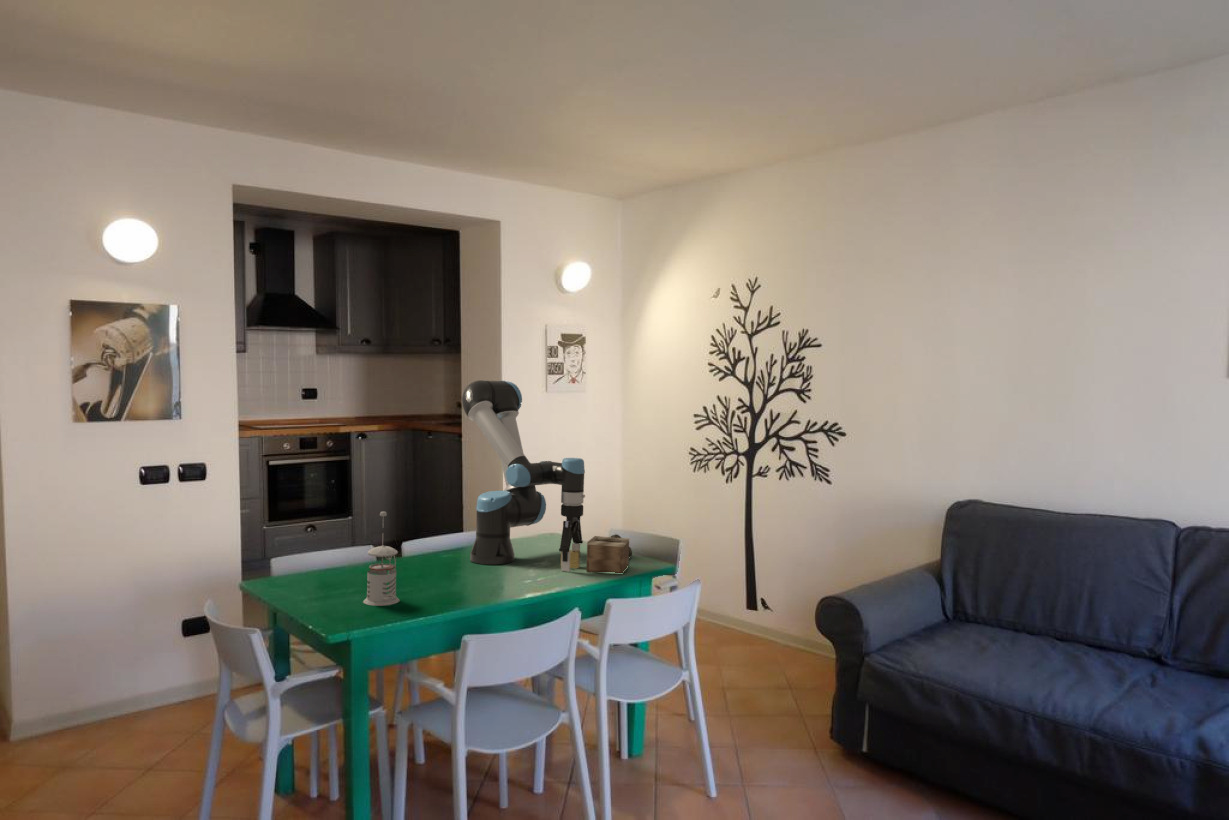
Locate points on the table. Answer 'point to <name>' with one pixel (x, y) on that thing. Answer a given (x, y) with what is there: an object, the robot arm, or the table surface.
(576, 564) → the yellow flat block
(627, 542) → the coin box
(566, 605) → the table surface
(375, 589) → the french press
